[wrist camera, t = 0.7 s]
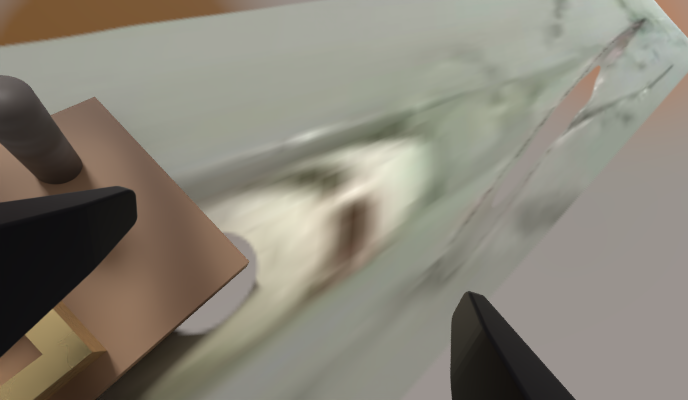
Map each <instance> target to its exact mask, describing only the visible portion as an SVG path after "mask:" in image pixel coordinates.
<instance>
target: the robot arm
mask: <svg viewBox="0 0 688 400" xmlns="http://www.w3.org/2000/svg"><path fill="white" fill-rule="evenodd" d="M137 217H138V214H137V201H136V194H135V192H134V191H133V190H131V189H128V188H125V187H122V186H112V187H105V188H98V189H91V190H84V191H77V192H70V193H63V194H56V195H49V196H42V197H35V198H28V199H21V200H14V201H7V202H0V358H1V357H2V356H3V355H4V354H5V353H6V352H7V351H8V350H9V349H10V348H11V347H12V346H13V345H15V344H16V343H17V342H18V341H19V340H20V339H21V338H22V337H23V336H24V335H25V334H26V333H27V332H28V331H30V330H31V329H32V328H33V327H34V326H35V325H36V324H37V323H38V322H39V321H40V320H41V319H42V318H43V317H45V316H46V315H47V314H48V313H49V312H50V311H51V310H52V309H53V308H54V307H55V306H56V305H57V304H58V303H60V302H61V301H62V300H63V299H64V298H65V297H66V296H67V295H68V294H69V293H70V292H71V291H72V290H73V289H75V288H76V287H77V286H78V285H79V284H80V283H81V282H82V281H83V280H84V279H85V278H86V277H87V276H88V275H89V274H90V273H91V272H93V271H94V270H95V269H96V268H97V266H98V265H99V264H100V263H101V262H102V261H103V260H104V259H105V258H106V257H107V255H108V254H109V253H110V252H111V251H112V250H113V249H114V248H115V246H116V245H117V244H118V243H119V242H120V241H121V240H122V238H123V237H124V236H125V235H126V234H127V233H128V232H129V231H130V229H131V228H132V227H133V226H134V225H135V223H136V221H137ZM450 370H451V371H450V375H451V376H450V378H451V392H452V400H576V399H575V398H574V397H573V396H572V395H571V394H570V393H569V392H568V391H567V389H566V388H565V387H564V386H563V385H562V384H561V382H559V380H558V379H557V378H556V377H555V376H554V375H553V374H552V372H551V371H550V370H549V369H548V368H547V367H546V366H545V364H544V363H543V362H542V361H541V360H540V359H539V358H538V356H537V355H536V354H535V353H534V352H533V351H532V350H531V349H530V347H529V346H528V345H527V344H526V343H525V342H524V341H523V340H522V338H521V337H520V336H519V335H518V334H517V333H516V332H515V331H514V329H513V328H512V327H511V326H510V325H509V324H508V323H507V321H506V320H505V319H504V318H503V317H502V316H501V315H500V314H499V312H498V311H497V310H496V309H495V308H494V307H493V306H492V304H491V303H490V302H489V301H488V300H487V299H486V298H485V297H484V296H483V295H480V294H477V293H474V292H470V291H468V292H466V293H465V294H464V295H463V297H462V299H461V300H460V302H459V304H458V306H457V308H456V310H455V311H454V313H453V316H452V322H451V368H450Z"/></svg>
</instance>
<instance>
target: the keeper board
mask: <svg viewBox="0 0 688 400" xmlns="http://www.w3.org/2000/svg"><path fill="white" fill-rule="evenodd" d="M112 186H122V187H125V188H128V189H131V190H133V191H134V192H135V194H136V201H137V214H138V217H137V221H136V223H135V225H134V226H133V227H132V228H131V229H130V231H129V232H128V233H127V234H126V235H125V236H124V237H123V238H122V240H121V241H120V242H119V243H118V244H117V245H116V246H115V248H114V249H113V250H112V251H111V252H110V253H109V254H108V255H107V257H106V258H105V259H104V260H103V261H102V262H101V263H100V264H99V265H98V266H97V268H96V269H95V270H94V271H93V272H91V273H90V274H89V275H88V276H87V277H86V278H85V279H84V280H83V281H82V282H81V283H80V284H79V285H78V286H77V287H76V288H75V289H73V290H72V291H71V292H70V293H69V294H68V295H67V296H66V297H65V298H64V299H63V300H62V302H63V303H64V304H65V305H66V306H67V307H68V308H69V309H70V311H71V312H72V313H73V314H74V315H75V316H76V317H77V318H78V319H79V320H80V322H81V323H82V324H83V325H84V326H85V327H86V328H87V329H88V330H89V331H90V332H91V334H92V335H93V336H94V337H95V338H96V339H97V340H98V341H99V342H100V343H101V345H102V346H103V347H104V348H105V349H106V350H107V351H106V352H105V353H104V354H102V355H101V356H100V357H99V358H98V359H96V360H95V361H94V362H93V363H91V364H90V365H89V366H88V367H87V368H85V369H84V370H83V371H82V372H80V373H79V374H78V375H77V376H76V377H74V378H73V379H72V380H71V381H69V382H68V383H67V384H66V385H65V386H63V387H62V388H61V389H60V390H58V391H57V392H56V393H55V394H54V395H52V396H51V397H50V398H49V399H48V400H95V399H97V398H98V397H99V396H100V395H101V394H102V393H103V392H105V391H106V390H107V389H108V388H109V387H110V386H111V385H112V384H114V383H115V382H116V381H117V380H118V379H119V378H120V377H122V376H123V375H124V374H125V373H126V372H127V371H128V370H130V369H131V368H132V367H133V366H134V365H135V364H136V363H138V362H139V361H140V360H141V359H142V358H143V357H144V356H145V355H147V354H148V353H149V352H150V351H151V350H152V349H153V348H155V347H156V346H157V345H158V344H159V343H160V342H161V341H163V340H164V339H165V338H166V337H167V336H168V335H169V334H171V333H172V332H173V331H174V330H175V329H176V328H177V327H178V326H180V325H181V324H182V323H183V322H184V321H185V320H186V319H188V318H189V317H190V316H191V315H192V314H193V313H194V312H196V311H197V310H198V309H199V308H200V307H201V306H202V305H203V304H205V303H206V302H207V301H208V300H209V299H210V298H211V297H213V296H214V295H215V294H216V293H217V292H218V291H219V290H221V289H222V288H223V287H224V286H225V285H226V284H227V283H228V282H230V281H231V280H232V279H233V278H234V277H235V276H236V275H238V274H239V273H240V272H241V271H242V270H243V269H244V268H246V267H247V265H248V263H249V261H248V260H247V259H246V258H245V256H244V255H243V254H242V253H241V252H240V251H239V250H238V249H237V248H236V247H235V246H234V245H233V244H232V243H231V242H230V241H229V239H228V238H227V237H226V236H225V235H224V234H223V233H222V232H221V231H220V230H219V229H218V228H217V227H216V226H215V224H214V223H213V222H212V221H211V220H210V219H209V218H208V217H207V216H206V215H205V214H204V213H203V212H202V211H201V210H200V208H199V207H198V206H197V205H196V204H195V203H194V202H193V201H192V200H191V199H190V198H189V197H188V196H187V195H186V194H185V192H184V191H183V190H182V189H181V188H180V187H179V186H178V185H177V184H176V183H175V182H174V181H173V180H172V179H171V178H170V176H169V175H168V174H167V173H166V172H165V171H164V170H163V169H162V168H161V167H160V166H159V165H158V164H157V163H156V162H155V160H154V159H153V158H152V157H151V156H150V155H149V154H148V153H147V152H146V151H145V150H144V149H143V148H142V147H141V146H140V144H139V143H138V142H137V141H136V140H135V139H134V138H133V137H132V136H131V135H130V134H129V133H128V132H127V131H126V130H125V128H124V127H123V126H122V125H121V124H120V123H119V122H118V121H117V120H116V119H115V118H114V117H113V116H112V115H111V114H110V112H109V111H108V110H107V109H106V108H105V107H104V106H103V105H102V104H101V103H100V102H99V101H98V100H97V99H96V98H95V97H93V98H91V99H88V100H86V101H84V102H81V103H79V104H76V105H74V106H72V107H69V108H67V109H64V110H62V111H60V112H57V113H55V114H53V115H50V114H49V113H48V111H47V110H46V108H45V107H44V106H43V104H42V103H41V101H40V100H39V98H38V97H37V96H36V94H35V93H34V91H33V90H32V88H31V87H30V86H29V85H28V84H27V83H25V82H24V81H22V80H20V79H17V78H14V77H10V76H4V75H0V202H7V201H14V200H21V199H28V198H35V197H42V196H49V195H56V194H63V193H70V192H77V191H84V190H91V189H98V188H105V187H112ZM41 355H43V354H42V353H41V352H40V351H39V350H38V349H37V348H36V346H35V345H34V344H33V343H32V342H31V341H30V340H29V339H28V338H27V337H26V335H24V336H23V337H22V338H21V339H20V340H19V341H18V342H17V343H16V344H15V345H13V346H12V347H11V348H10V349H9V350H8V351H7V352H6V353H5V354H4V355H3V356H2V357H1V358H0V386H1V385H3V384H4V383H5V382H7V381H8V380H9V379H11V378H12V377H13V376H15V375H16V374H17V373H19V372H20V371H21V370H23V369H24V368H25V367H27V366H28V365H29V364H31V363H32V362H33V361H35V360H36V359H37V358H39V357H40V356H41Z"/></svg>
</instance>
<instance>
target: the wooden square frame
mask: <svg viewBox="0 0 688 400" xmlns="http://www.w3.org/2000/svg"><path fill="white" fill-rule="evenodd" d="M25 335H26V337H27V338H28V339H29V340H30V341H31V342H32V343H33V344H34V345H35V346H36V348H37V349H38V350H39V351H40V352H41V353H42V354H43V355H41V356H40V357H39V358H37V359H36V360H35V361H33V362H32V363H31V364H29V365H28V366H27V367H25V368H24V369H23V370H21V371H20V372H19V373H17V374H16V375H15V376H13V377H12V378H11V379H9V380H8V381H7V382H5V383H4V384H3V385H1V386H0V400H48V399H49V398H50V397H51V396H52V395H54V394H55V393H56V392H57V391H58V390H60V389H61V388H62V387H63V386H65V385H66V384H67V383H68V382H69V381H71V380H72V379H73V378H74V377H76V376H77V375H78V374H79V373H80V372H82V371H83V370H84V369H85V368H87V367H88V366H89V365H90V364H91V363H93V362H94V361H95V360H96V359H98V358H99V357H100V356H101V355H102V354H104V353H105V352H106V351H107V350H106V349H105V348H104V347H103V346H102V345H101V343H100V342H99V341H98V340H97V339H96V338H95V337H94V336H93V335H92V334H91V332H90V331H89V330H88V329H87V328H86V327H85V326H84V325H83V324H82V323H81V322H80V320H79V319H78V318H77V317H76V316H75V315H74V314H73V313H72V312H71V311H70V309H69V308H68V307H67V306H66V305H65V304H64V303H63V302H62V301H61V302H60V303H58V304H57V305H56V306H55V307H54V308H53V309H52V310H51V311H50V312H49V313H48V314H47V315H46V316H45V317H43V318H42V319H41V320H40V321H39V322H38V323H37V324H36V325H35V326H34V327H33V328H32V329H31V330H30V331H28V332H27V333H26V334H25Z"/></svg>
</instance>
